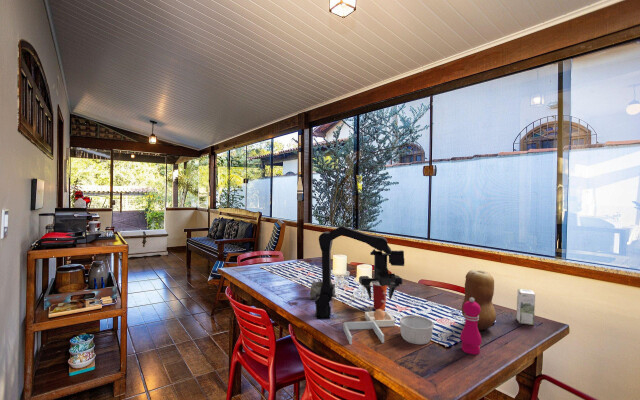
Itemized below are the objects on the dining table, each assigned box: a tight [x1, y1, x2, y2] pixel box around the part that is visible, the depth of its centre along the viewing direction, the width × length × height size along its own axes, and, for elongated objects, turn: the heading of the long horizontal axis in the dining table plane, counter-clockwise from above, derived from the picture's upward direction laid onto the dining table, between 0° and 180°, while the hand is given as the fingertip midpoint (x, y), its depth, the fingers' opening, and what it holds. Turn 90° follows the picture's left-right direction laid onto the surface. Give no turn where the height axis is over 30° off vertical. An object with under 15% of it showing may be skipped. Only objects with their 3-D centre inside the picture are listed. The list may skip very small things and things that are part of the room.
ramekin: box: [398, 314, 435, 345], centre depth 128 cm, size 13×13×7 cm
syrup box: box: [516, 288, 536, 326], centre depth 145 cm, size 6×6×14 cm
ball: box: [373, 309, 385, 320], centre depth 144 cm, size 5×5×5 cm
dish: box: [364, 310, 396, 328], centre depth 144 cm, size 11×11×3 cm
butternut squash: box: [461, 269, 497, 331], centre depth 138 cm, size 14×13×25 cm
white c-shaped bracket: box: [342, 320, 385, 345], centre depth 130 cm, size 14×14×3 cm
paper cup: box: [372, 282, 388, 311], centre depth 160 cm, size 8×8×14 cm
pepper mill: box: [459, 297, 483, 355], centre depth 118 cm, size 7×7×20 cm
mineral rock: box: [309, 280, 337, 300], centre depth 172 cm, size 13×11×10 cm
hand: (380, 299), depth 144 cm, fingers open, 9 cm apart
